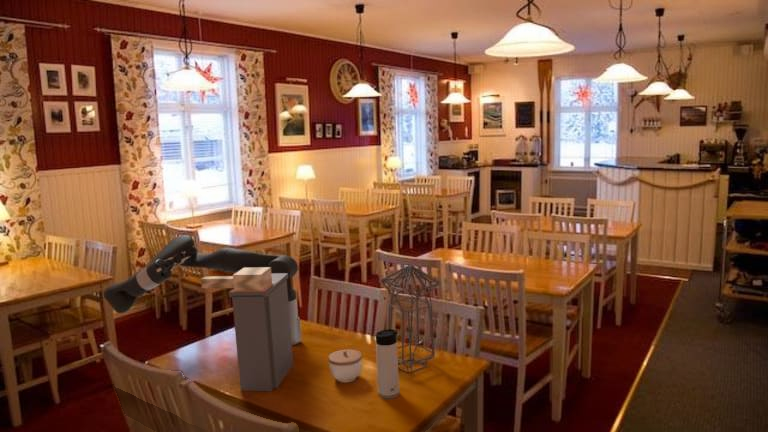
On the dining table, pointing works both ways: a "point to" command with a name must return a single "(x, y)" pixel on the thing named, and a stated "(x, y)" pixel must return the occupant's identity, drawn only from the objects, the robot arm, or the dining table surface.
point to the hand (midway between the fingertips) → (189, 251)
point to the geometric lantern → (408, 271)
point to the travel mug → (387, 363)
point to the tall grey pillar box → (263, 335)
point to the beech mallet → (241, 280)
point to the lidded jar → (345, 364)
